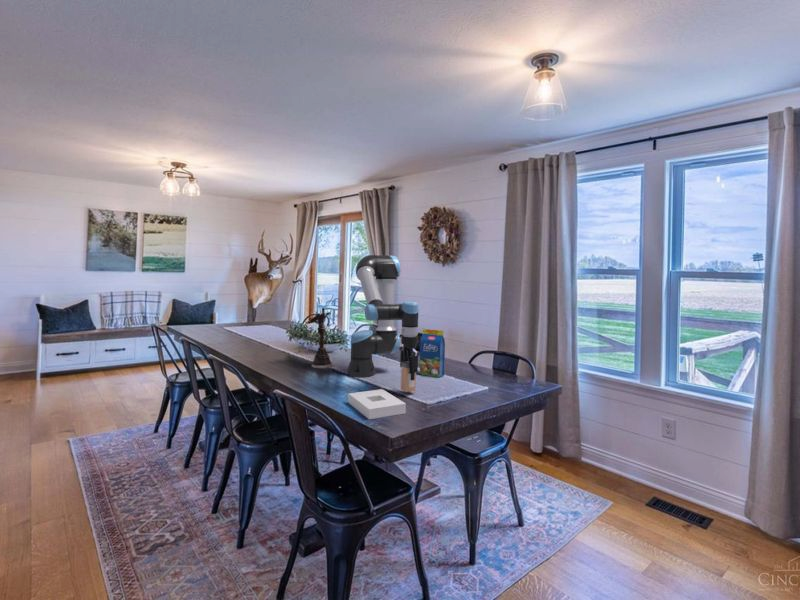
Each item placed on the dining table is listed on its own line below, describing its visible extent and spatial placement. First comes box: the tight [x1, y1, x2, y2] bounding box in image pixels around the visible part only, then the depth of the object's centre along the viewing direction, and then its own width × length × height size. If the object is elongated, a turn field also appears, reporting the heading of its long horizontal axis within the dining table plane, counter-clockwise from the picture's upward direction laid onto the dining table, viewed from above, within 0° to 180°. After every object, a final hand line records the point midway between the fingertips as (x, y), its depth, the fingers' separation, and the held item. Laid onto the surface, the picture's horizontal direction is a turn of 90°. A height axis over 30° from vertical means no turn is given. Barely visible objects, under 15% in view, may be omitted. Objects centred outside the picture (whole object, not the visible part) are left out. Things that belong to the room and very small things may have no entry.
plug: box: [400, 361, 417, 393], centre depth 195 cm, size 5×5×13 cm
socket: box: [347, 388, 407, 420], centre depth 174 cm, size 22×16×4 cm
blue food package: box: [419, 328, 446, 378], centre depth 228 cm, size 6×12×25 cm, turn 61°
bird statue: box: [304, 307, 332, 369], centre depth 245 cm, size 17×13×35 cm
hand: (408, 384), depth 195 cm, fingers closed on plug, 5 cm apart
